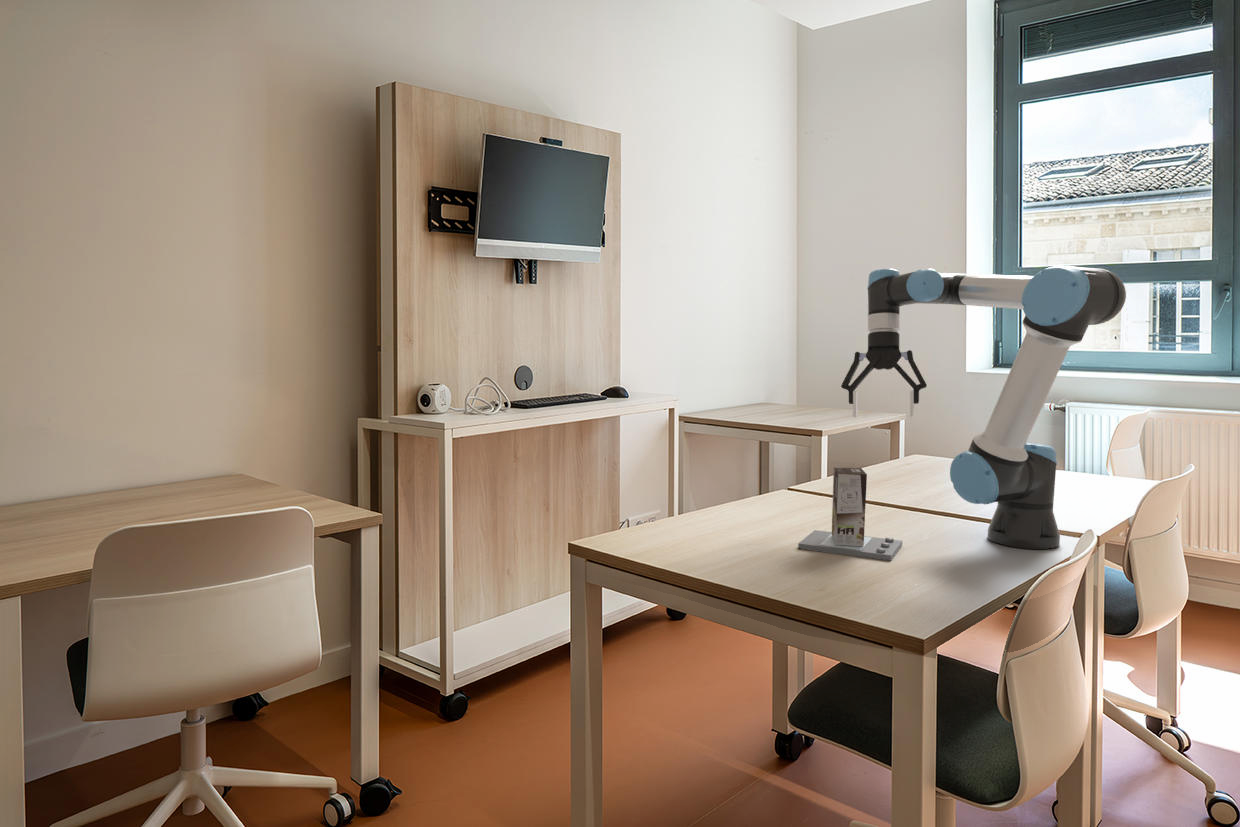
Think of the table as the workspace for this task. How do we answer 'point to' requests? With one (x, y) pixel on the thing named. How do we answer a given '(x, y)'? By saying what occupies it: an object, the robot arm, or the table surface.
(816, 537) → the control panel
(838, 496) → the coffee box
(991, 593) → the table surface
